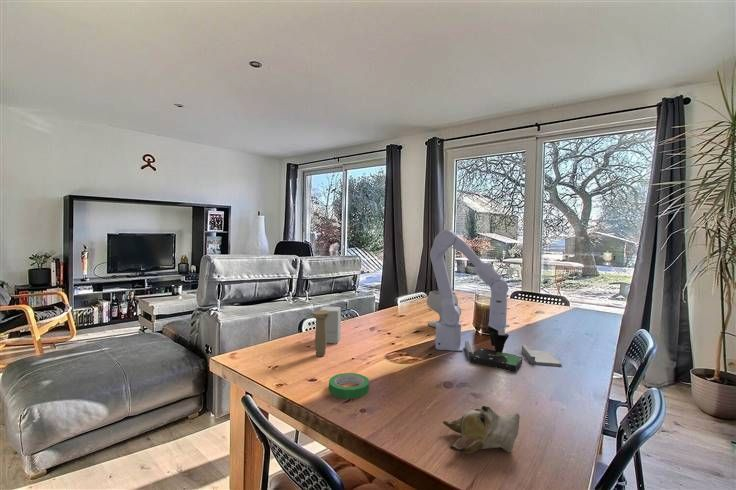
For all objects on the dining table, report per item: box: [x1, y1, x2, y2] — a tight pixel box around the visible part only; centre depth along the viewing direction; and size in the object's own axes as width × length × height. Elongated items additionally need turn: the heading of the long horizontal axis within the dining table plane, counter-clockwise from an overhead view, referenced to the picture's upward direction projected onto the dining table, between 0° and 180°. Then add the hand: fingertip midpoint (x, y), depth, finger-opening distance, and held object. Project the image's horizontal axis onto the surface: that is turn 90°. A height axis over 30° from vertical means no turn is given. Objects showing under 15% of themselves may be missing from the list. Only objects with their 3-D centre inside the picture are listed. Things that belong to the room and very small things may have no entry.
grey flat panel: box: [464, 340, 563, 367], centre depth 126 cm, size 30×12×2 cm, turn 81°
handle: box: [311, 309, 330, 357], centre depth 123 cm, size 5×6×15 cm
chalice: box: [426, 290, 459, 328], centre depth 164 cm, size 14×14×15 cm
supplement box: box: [320, 306, 342, 344], centre depth 139 cm, size 7×7×13 cm
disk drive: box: [469, 347, 523, 373], centre depth 120 cm, size 10×3×15 cm
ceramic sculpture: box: [442, 405, 520, 455], centre depth 74 cm, size 11×9×15 cm
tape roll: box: [328, 372, 370, 400], centre depth 98 cm, size 11×11×3 cm
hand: (496, 349), depth 129 cm, fingers open, 7 cm apart
